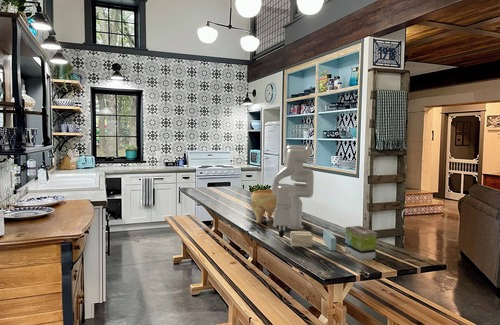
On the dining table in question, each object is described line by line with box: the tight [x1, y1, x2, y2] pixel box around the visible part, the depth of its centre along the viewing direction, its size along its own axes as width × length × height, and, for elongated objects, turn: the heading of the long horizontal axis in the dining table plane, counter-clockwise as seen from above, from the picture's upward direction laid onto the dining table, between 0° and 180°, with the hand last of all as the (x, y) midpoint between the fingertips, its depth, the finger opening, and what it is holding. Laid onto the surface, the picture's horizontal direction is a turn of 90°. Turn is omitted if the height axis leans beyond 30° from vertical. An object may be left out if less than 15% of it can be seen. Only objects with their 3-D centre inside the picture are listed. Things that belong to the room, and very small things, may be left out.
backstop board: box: [322, 229, 337, 251], centre depth 221 cm, size 20×3×7 cm, turn 1°
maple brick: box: [289, 230, 313, 248], centre depth 221 cm, size 8×12×7 cm, turn 91°
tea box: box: [344, 225, 378, 261], centre depth 204 cm, size 15×10×15 cm, turn 21°
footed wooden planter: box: [250, 189, 277, 224], centre depth 280 cm, size 34×35×23 cm
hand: (281, 236), depth 220 cm, fingers closed
